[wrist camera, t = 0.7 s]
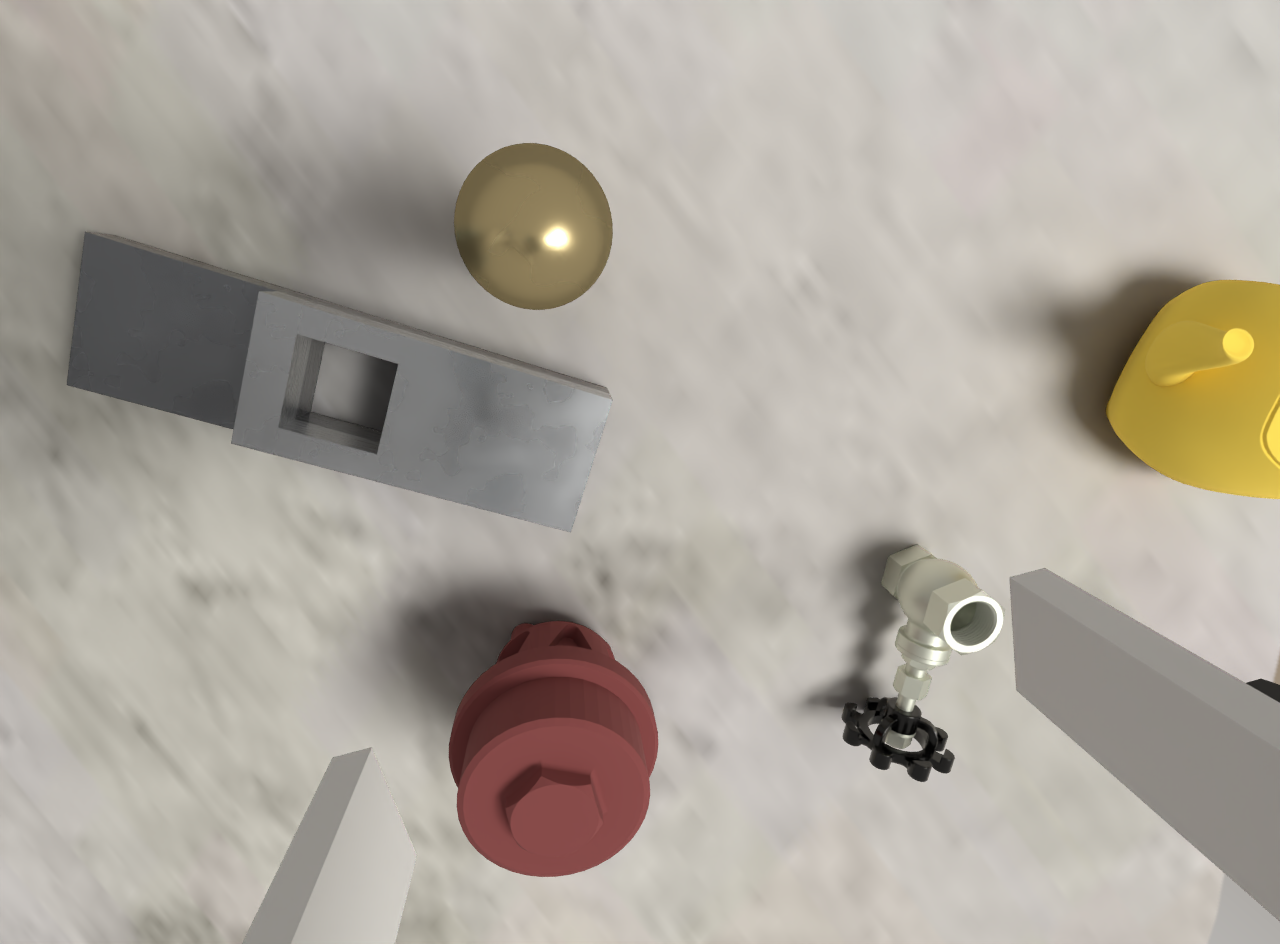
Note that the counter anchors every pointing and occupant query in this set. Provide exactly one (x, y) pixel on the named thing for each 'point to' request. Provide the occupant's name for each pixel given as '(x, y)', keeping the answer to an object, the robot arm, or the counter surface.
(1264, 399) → the teapot
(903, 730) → the valve
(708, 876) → the counter surface
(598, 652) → the mechanical component
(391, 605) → the counter surface
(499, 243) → the brass knob
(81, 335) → the plate with square socket
